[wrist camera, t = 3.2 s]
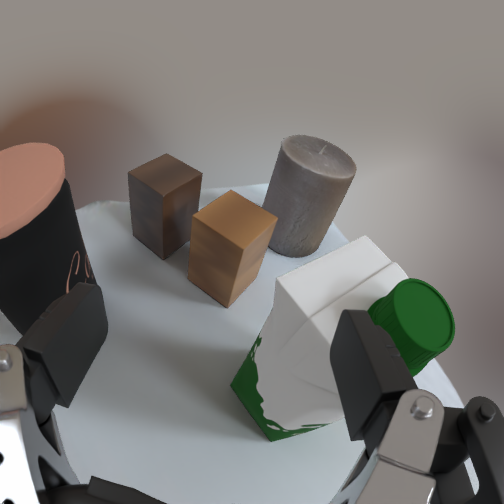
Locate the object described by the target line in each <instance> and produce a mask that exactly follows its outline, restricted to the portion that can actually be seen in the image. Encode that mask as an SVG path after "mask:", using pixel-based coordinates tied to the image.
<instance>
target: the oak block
mask: <svg viewBox="0 0 504 504" xmlns="http://www.w3.org/2000/svg"><path fill="white" fill-rule="evenodd" d="M277 219H278V217H276V216H274V215H273V214H271V213H269V212H268V211H266V210H264V209H263V208H261V207H259V206H258V205H256V204H254V203H253V202H251V201H249V200H248V199H246V198H244V197H243V196H241V195H239V194H237V193H236V192H234V191H232V190H230V191H228V192H227V193H225V194H224V195H222V196H221V197H219V198H218V199H216V200H215V201H213V202H212V203H210V204H209V205H207V206H206V207H204V208H203V209H201V210H200V211H198V212H197V213H195V214H194V215H193V216H192V226H191V238H190V251H189V265H188V279H189V280H190V281H191V282H193V283H194V284H195V285H196V286H198V287H199V288H200V289H202V290H203V291H204V292H206V293H207V294H208V295H210V296H211V297H212V298H214V299H215V300H216V301H218V302H219V303H221V304H222V305H223V306H225V307H226V308H228V307H229V306H230V305H231V304H232V303H233V302H234V301H235V300H236V299H237V298H238V297H239V296H240V295H241V293H242V292H243V291H244V290H245V289H246V288H247V287H248V286H249V285H250V284H251V283H252V282H253V281H254V280H255V278H256V277H257V274H258V272H259V269H260V266H261V263H262V261H263V258H264V255H265V253H266V250H267V247H268V244H269V242H270V239H271V236H272V233H273V231H274V228H275V225H276V222H277Z"/></svg>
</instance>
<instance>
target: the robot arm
mask: <svg viewBox="0 0 504 504" xmlns="http://www.w3.org/2000/svg"><path fill="white" fill-rule="evenodd" d="M107 333H108V321H107V316H106V311H105V306H104V301H103V296H102V291H101V288H100V286H98V285H94V284H88V283H81V282H79V283H77V284H76V285H75V286H74V287H73V288H72V289H71V290H70V291H69V292H68V293H67V294H65V295H63V296H61V297H60V298H58V299H56V300H55V301H53V302H52V303H51V304H50V305H49V307H48V308H47V309H46V310H45V312H43V313H42V314H41V316H40V317H39V320H38V319H37V320H36V321H35V322H34V324H33V325H32V326H31V327H30V328H29V329H28V331H27V332H26V333H25V334H24V335H23V337H22V338H21V339H20V340H19V341H18V343H17V344H16V345H11V344H5V345H1V346H0V504H167V503H164V502H162V501H160V500H157V499H155V498H153V497H151V496H149V495H146V494H144V493H142V492H140V491H138V490H136V489H134V488H131V487H127V486H123V485H120V484H116V483H113V482H110V481H106V480H103V479H100V478H97V477H94V476H91V479H90V482H89V484H80V482H79V480H78V478H77V476H76V474H75V473H74V471H73V470H72V468H71V466H70V464H69V462H68V460H67V457H66V454H65V450H64V447H63V444H62V440H61V437H60V433H59V429H58V426H57V422H56V417H55V414H54V412H53V410H52V409H53V408H54V406H55V404H58V405H60V406H63V407H66V408H69V406H70V404H71V402H72V400H73V398H74V396H75V394H76V392H77V390H78V388H79V386H80V384H81V382H82V381H83V379H84V377H85V375H86V373H87V371H88V369H89V368H90V366H91V364H92V362H93V360H94V359H95V357H96V355H97V353H98V352H99V350H100V348H101V346H102V345H103V343H104V341H105V339H106V337H107ZM400 355H401V354H400V352H399V351H398V349H397V348H396V345H395V343H394V341H393V340H392V338H391V336H390V334H388V333H387V332H386V331H385V330H384V329H383V328H382V327H381V326H380V325H374V323H373V321H372V319H371V317H370V315H369V313H368V312H367V311H366V310H351V309H344V310H343V311H342V313H341V315H340V318H339V321H338V325H337V328H336V331H335V334H334V337H333V340H332V343H331V347H330V364H331V367H332V371H333V375H334V378H335V382H336V385H337V389H338V393H339V397H340V400H341V404H342V408H343V412H344V416H345V420H346V424H347V427H348V431H349V436H350V440H351V441H357V440H364V442H365V446H366V447H365V448H364V449H363V451H362V452H361V454H360V456H359V458H358V459H357V461H356V463H355V465H354V466H353V468H352V470H351V471H350V473H349V475H348V476H347V478H346V480H345V481H344V483H343V484H342V486H341V488H340V489H339V491H338V492H337V494H336V495H335V496H334V498H333V499H332V500H331V501H330V503H329V504H429V503H430V504H504V417H503V415H502V413H501V412H500V410H499V408H498V406H497V405H496V404H495V403H494V402H493V401H491V400H490V399H488V398H486V397H481V396H479V397H474V398H472V399H471V400H470V401H469V402H468V404H467V405H466V406H465V408H464V409H462V408H451V407H443V405H442V403H441V401H440V400H439V399H438V398H437V397H436V396H435V395H434V394H432V393H430V392H428V391H426V390H422V389H418V387H417V385H416V383H415V381H414V379H413V377H412V375H411V373H410V371H409V369H408V367H407V366H406V364H405V362H404V360H403V358H402V357H400ZM469 457H470V458H471V461H472V463H473V466H474V469H475V472H476V474H477V477H478V480H479V490H478V492H477V494H476V495H475V494H474V491H473V488H472V485H471V482H470V479H469V476H468V473H467V470H466V467H465V464H464V462H465V461H466V460H467V459H468V458H469Z"/></svg>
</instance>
